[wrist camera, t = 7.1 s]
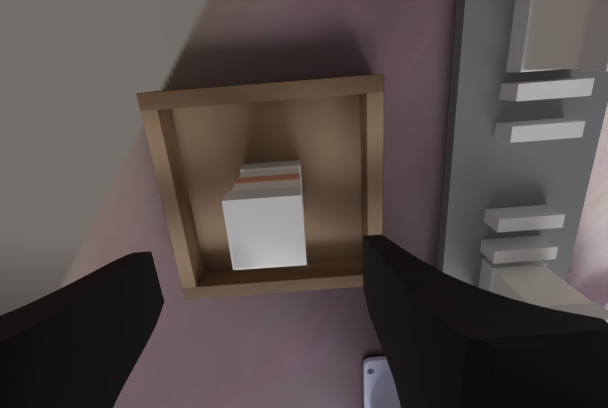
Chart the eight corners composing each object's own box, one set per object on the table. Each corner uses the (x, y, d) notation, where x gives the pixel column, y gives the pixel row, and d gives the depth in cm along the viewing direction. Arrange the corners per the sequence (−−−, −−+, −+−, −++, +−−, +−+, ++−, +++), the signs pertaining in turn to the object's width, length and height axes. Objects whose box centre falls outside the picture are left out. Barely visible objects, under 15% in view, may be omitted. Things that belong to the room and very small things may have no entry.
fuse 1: (569, 67, 17) (699, 64, 12) (506, 72, 17) (605, 71, 12) (582, -5, 16) (733, -47, 11) (515, 0, 16) (630, -38, 11)
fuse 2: (525, 297, 22) (602, 372, 17) (476, 300, 22) (537, 376, 17) (533, 254, 21) (618, 319, 16) (482, 258, 21) (548, 323, 16)
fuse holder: (548, 301, 24) (575, 326, 21) (433, 310, 24) (448, 335, 21) (621, -35, 17) (674, -53, 14) (457, -22, 17) (484, -38, 14)
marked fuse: (304, 212, 20) (307, 264, 15) (250, 216, 20) (232, 270, 15) (300, 160, 19) (301, 195, 14) (243, 164, 19) (221, 200, 14)
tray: (373, 263, 22) (381, 285, 20) (196, 276, 22) (185, 299, 20) (372, 74, 18) (383, 74, 16) (157, 91, 18) (136, 93, 16)
